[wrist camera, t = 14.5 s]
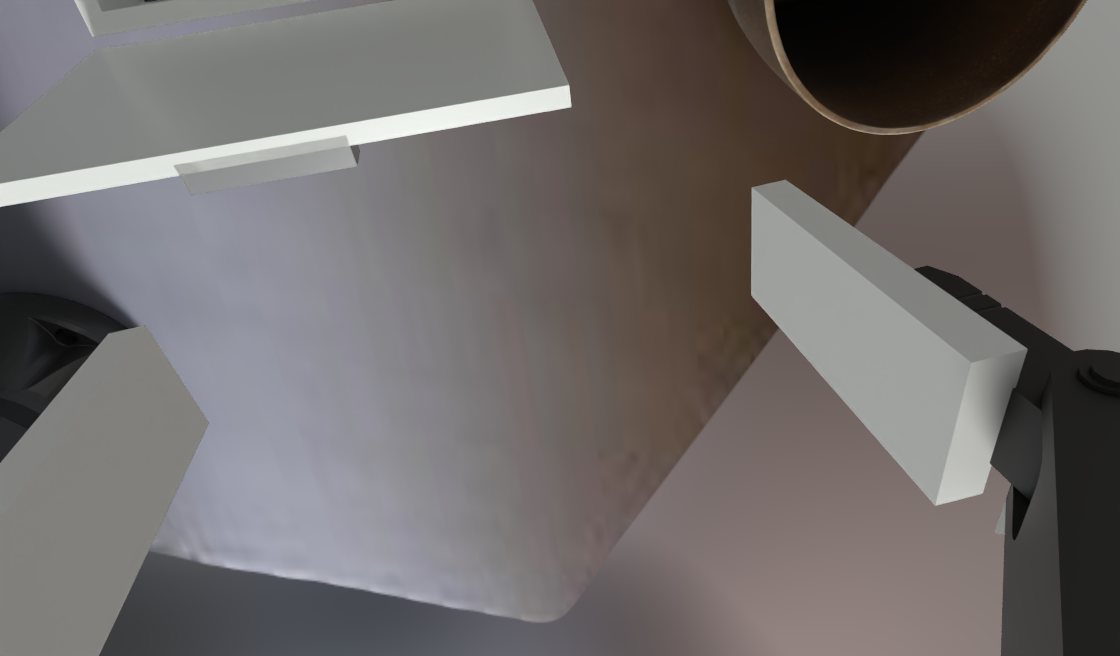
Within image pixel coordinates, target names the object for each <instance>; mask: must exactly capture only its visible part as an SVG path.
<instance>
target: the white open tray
mask: <svg viewBox="0 0 1120 656" xmlns="http://www.w3.org/2000/svg"><path fill="white" fill-rule="evenodd" d="M74 1H75V3H76V5H77V7H78V9H79V11H80V13H81V15H82V17H83V19H84V21H85V22H86V24H87V26H88V28H89V30H90V32H91V34H92V36H93V37H96V36H102V35H108V34H114V33H120V32H126V31H132V30H138V29H144V28H150V27H156V26H162V25H168V24H174V23H180V22H186V21H193V20H199V19H205V18H211V17H217V16H223V15H229V14H235V13H241V12H247V11H253V10H259V9H265V8H271V7H277V6H283V5H290V4H296V3H302V2H308V1H314V0H156V1H150V2H145V1H144V0H74Z"/></svg>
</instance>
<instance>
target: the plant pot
mask: <svg viewBox="0 0 1120 656" xmlns="http://www.w3.org/2000/svg"><path fill="white" fill-rule="evenodd" d="M1086 1H1087V0H728V3H729V5H730V8H731V10H732V12H733V14H734V16H735V18H736V20H737V22H738V24H739V25H740V27H741V29H742V30H743V32H744V33H745V35H746V37H747V38H748V40H749V41H750V43H751V44H752V45H753V47H754V48H755V50H756V51H757V52H758V54H759V55H760V56H761V57H762V59H763V60H764V61H765V62H766V63H767V64H768V66H769V67H770V68H771V69H772V70H773V71H774V72H775V73H776V74H777V75H778V76H779V77H780V78H781V79H782V80H783V81H784V82H785V83H786V84H787V85H788V86H789V87H790V88H791V89H792V90H793V91H794V92H795V93H797V94H798V95H799V96H800V97H801V98H802V99H803V100H804V101H805V102H807V103H808V104H809V105H810V106H811V107H812V108H814V109H815V110H816V111H818V112H819V113H820V114H822V115H823V116H825V117H826V118H828V119H830V120H832V121H834V122H835V123H838V124H840V125H842V126H845V127H847V128H850V129H853V130H856V131H861V132H865V133H872V134H882V135H892V134H905V133H912V132H917V131H922V130H926V129H930V128H933V127H936V126H939V125H942V124H946V123H948V122H950V121H953V120H955V119H958V118H960V117H962V116H964V115H966V114H968V113H970V112H972V111H974V110H976V109H978V108H979V107H981V106H982V105H984V104H986V103H988V102H989V101H991V100H992V99H994V98H995V97H997V96H998V95H999V94H1001V93H1002V92H1003V91H1005V90H1006V89H1007V88H1009V87H1010V86H1011V85H1013V84H1014V83H1015V82H1016V81H1017V80H1019V79H1020V78H1021V77H1022V76H1023V75H1024V74H1025V73H1027V72H1028V71H1029V70H1030V69H1031V68H1032V67H1033V66H1034V65H1035V64H1036V63H1037V62H1038V61H1039V60H1040V59H1041V58H1042V57H1043V56H1044V55H1045V54H1046V53H1047V52H1048V51H1049V50H1050V49H1051V48H1052V46H1053V45H1054V44H1055V43H1056V42H1057V41H1058V39H1059V38H1060V37H1061V36H1062V35H1063V33H1064V32H1065V31H1066V30H1067V28H1068V27H1069V25H1070V24H1071V23H1072V22H1073V20H1074V19H1075V18H1076V16H1077V15H1078V13H1079V12H1080V10H1081V9H1082V7H1083V6H1084V4H1085V3H1086Z"/></svg>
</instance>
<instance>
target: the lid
mask: <svg viewBox="0 0 1120 656" xmlns="http://www.w3.org/2000/svg"><path fill="white" fill-rule="evenodd" d="M569 107H571V99H570V89H569V84H568V81H567V79H566V77H565V74H564V72H563V70H562V67H561V65H560V63H559V61H558V58H557V56H556V54H555V51H554V49H553V47H552V44H551V42H550V40H549V37H548V35H547V33H546V31H545V28H544V26H543V24H542V21H541V19H540V17H539V14H538V12H537V10H536V7H535V5H534V3H533V1H532V0H394V1H388V2H382V3H376V4H370V5H364V6H358V7H352V8H346V9H339V10H333V11H327V12H321V13H315V14H309V15H303V16H297V17H291V18H285V19H279V20H273V21H267V22H261V23H255V24H249V25H243V26H237V27H231V28H225V29H219V30H213V31H207V32H201V33H195V34H189V35H183V36H177V37H171V38H165V39H158V40H152V41H146V42H140V43H134V44H128V45H122V46H116V47H110V48H104V49H98V50H94V51H92V52H91V53H90V54H89V55H88V56H87V57H86V58H85V59H83V60H82V61H81V62H80V63H79V64H78V65H77V66H75V67H74V68H73V69H72V70H71V71H70V72H69V73H67V74H66V75H65V76H64V77H63V78H62V79H61V80H59V81H58V82H57V83H56V84H55V85H54V86H53V87H51V88H50V89H49V90H48V91H47V92H46V93H45V94H43V95H42V96H41V97H40V98H39V99H38V100H37V101H35V102H34V103H33V104H32V105H31V106H30V107H29V108H27V109H26V110H25V111H24V112H23V113H22V114H21V115H19V116H18V117H17V118H16V119H15V120H14V121H13V122H12V123H10V124H9V125H8V126H7V127H6V128H5V129H4V130H2V131H1V132H0V207H2V206H8V205H14V204H19V203H25V202H31V201H37V200H42V199H48V198H54V197H59V196H65V195H71V194H77V193H82V192H88V191H94V190H100V189H105V188H111V187H117V186H122V185H128V184H134V183H140V182H145V181H151V180H157V179H163V178H168V177H174V176H180V177H181V179H182V181H183V182H184V184H185V186H186V187H187V189H188V191H189V192H190V194H191V195H196V194H202V193H207V192H213V191H219V190H224V189H230V188H236V187H241V186H247V185H253V184H258V183H264V182H270V181H275V180H281V179H287V178H292V177H298V176H304V175H310V174H315V173H321V172H327V171H332V170H338V169H344V168H349V167H355V166H357V165H358V159H359V153H360V150H359V147H358V144H363V143H369V142H374V141H380V140H386V139H392V138H397V137H403V136H409V135H414V134H420V133H426V132H432V131H437V130H443V129H449V128H455V127H460V126H466V125H472V124H477V123H483V122H489V121H495V120H500V119H506V118H512V117H517V116H523V115H529V114H535V113H540V112H546V111H552V110H558V109H563V108H569Z"/></svg>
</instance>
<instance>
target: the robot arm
mask: <svg viewBox="0 0 1120 656" xmlns="http://www.w3.org/2000/svg"><path fill="white" fill-rule="evenodd" d="M751 295H752V297H753V298H754V299H755V300H756V301H757V302H758V303H759V305H760V306H761V307H762V308H763V309H764V310H765V311H766V313H767V314H768V315H769V316H770V317H771V318H772V319H773V321H774V322H775V323H776V324H777V325H778V326H779V327H780V329H781V330H782V331H783V332H784V333H785V334H786V335H787V336H788V338H789V339H790V340H791V341H792V342H793V343H794V345H795V346H796V347H797V348H798V349H799V350H800V351H801V353H802V354H803V355H804V356H805V357H806V358H807V359H808V360H809V362H810V363H811V364H812V365H813V366H814V367H815V369H816V370H817V371H818V372H819V373H820V374H821V375H822V377H823V378H824V379H825V380H826V381H827V382H828V383H829V385H830V386H831V387H832V388H833V389H834V390H835V391H836V392H837V394H838V395H839V396H840V397H841V398H842V400H843V401H844V402H845V403H846V404H847V405H848V406H849V407H850V409H851V410H852V411H853V412H854V413H855V414H856V416H857V417H858V418H859V419H860V420H861V421H862V422H863V424H864V425H865V426H866V427H867V428H868V429H869V430H870V432H871V433H872V434H873V435H874V436H875V437H876V438H877V439H878V440H879V442H880V443H881V444H882V445H883V446H884V448H885V449H886V450H887V451H888V452H889V453H890V454H891V456H892V457H893V458H894V459H895V460H896V461H897V462H898V464H899V465H900V466H901V467H902V468H903V469H904V470H905V472H906V473H907V474H908V475H909V476H910V477H911V478H912V480H913V481H914V482H915V483H916V484H917V485H918V487H919V488H920V489H921V490H922V491H923V492H924V493H925V494H926V496H927V497H928V498H929V499H930V500H931V501H932V503H933V504H934V505H935V506H936V505H940V504H944V503H947V502H951V501H955V500H959V499H963V498H967V497H971V496H975V495H979V494H982V493H983V491H984V487H985V484H986V481H987V478H988V475H989V471H990V468H991V465H992V466H993V467H994V468H995V469H996V470H998V471H999V472H1000V473H1001V474H1002V475H1003V476H1004V477H1005V478H1006V479H1007V480H1008V481H1009V482H1010V483H1011V486H1010V489H1009V492H1008V495H1007V498H1006V501H1005V503H1004V506H1003V509H1002V512H1001V515H1000V518H999V521H998V524H997V527H996V529H995V533H998V534H1002V535H1003V534H1004V532H1005V543H1004V544H1005V545H1004V577H1003V608H1002V638H1001V656H1120V353H1118V352H1114V351H1108V350H1088V349H1085V350H1080V351H1072V350H1071V349H1069V348H1068V347H1066V346H1065V345H1063V344H1062V343H1060V342H1059V341H1057V340H1056V339H1054V338H1053V337H1051V336H1049V335H1048V334H1046V333H1045V332H1043V331H1042V330H1040V329H1039V328H1037V327H1036V326H1034V325H1033V324H1031V323H1030V322H1028V321H1026V320H1025V319H1023V318H1022V317H1020V316H1019V315H1017V314H1016V313H1014V312H1013V311H1011V310H1010V309H1008V308H1006V307H1005V308H1002V307H1001V304H1000V303H999V302H997V301H996V300H994V299H993V298H991V297H990V296H988V295H982V291H980V290H979V289H977V288H976V287H974V286H973V285H971V284H970V283H968V282H967V281H965V280H963V279H962V278H960V277H959V276H956V275H953V274H950V273H948V272H945V271H942V270H939V269H936V268H933V267H930V266H924V267H920V268H916V269H912V268H911V267H910V266H908V265H907V264H905V263H903V262H902V261H901V260H900V259H898V258H897V257H895V256H894V255H892V254H891V253H889V252H888V251H886V250H885V249H884V248H882V247H881V246H879V245H878V244H877V243H875V242H873V241H872V240H871V239H869V238H868V237H867V236H865V235H864V234H862V233H861V232H859V231H858V230H857V229H855V228H854V227H852V226H851V225H849V224H848V223H847V222H845V221H844V220H842V219H841V218H839V217H838V216H837V215H835V214H834V213H832V212H831V211H829V210H828V209H827V208H825V207H824V206H822V205H821V204H819V203H818V202H817V201H815V200H814V199H812V198H811V197H809V196H808V195H806V194H805V193H804V192H802V191H801V190H799V189H798V188H796V187H795V186H794V185H792V184H791V183H789V182H788V181H786V180H783V181H778V182H774V183H770V184H765V185H761V186H756V187H752V255H751ZM208 424H209V422H208V420H207V419H206V417H205V416H204V414H203V412H202V411H201V409H200V408H199V406H198V405H197V403H196V402H195V400H194V399H193V397H192V396H191V394H190V393H189V391H188V389H187V388H186V386H185V385H184V383H183V382H182V380H181V379H180V377H179V376H178V374H177V373H176V371H175V369H174V368H173V366H172V365H171V363H170V362H169V360H168V359H167V357H166V356H165V354H164V353H163V351H162V350H161V348H160V346H159V345H158V343H157V342H156V340H155V339H154V337H153V336H152V334H151V333H150V331H149V330H148V328H147V327H146V325H144V326H140V327H135V328H131V329H125V328H124V327H123V326H121V325H120V324H118V323H117V322H115V321H113V320H112V319H110V318H108V317H106V316H105V315H103V314H101V313H99V312H97V311H94V310H92V309H90V308H87V307H85V306H82V305H80V304H77V303H74V302H71V301H67V300H63V299H60V298H55V297H50V296H44V295H37V294H23V293H12V294H0V656H99V654H100V652H101V650H102V648H103V645H104V643H105V641H106V639H107V637H108V635H109V633H110V631H111V628H112V626H113V624H114V622H115V620H116V618H117V616H118V614H119V612H120V610H121V608H122V605H123V603H124V601H125V599H126V597H127V595H128V593H129V590H130V589H131V586H132V584H133V582H134V580H135V578H136V576H137V574H138V572H139V570H140V567H141V565H142V563H143V561H144V559H145V557H146V555H147V553H148V551H149V549H150V546H151V544H152V542H153V540H154V538H155V536H156V534H157V532H158V530H159V527H160V525H161V523H162V521H163V519H164V517H165V515H166V513H167V511H168V509H169V506H170V504H171V502H172V500H173V498H174V496H175V494H176V492H177V490H178V487H179V485H180V483H181V481H182V479H183V477H184V475H185V473H186V471H187V468H188V466H189V464H190V462H191V460H192V458H193V456H194V454H195V452H196V450H197V447H198V445H199V443H200V441H201V439H202V437H203V435H204V433H205V431H206V428H207V426H208Z"/></svg>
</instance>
